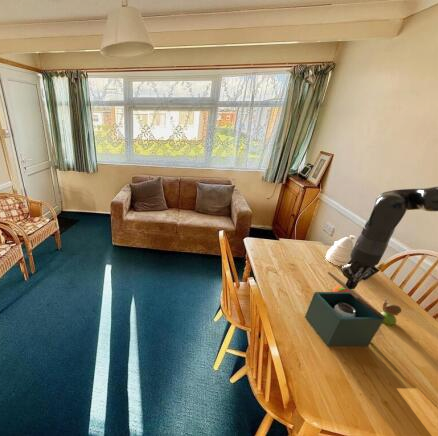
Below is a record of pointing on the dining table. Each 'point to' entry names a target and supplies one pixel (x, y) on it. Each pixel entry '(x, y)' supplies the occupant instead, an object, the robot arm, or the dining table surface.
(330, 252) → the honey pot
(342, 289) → the clementine
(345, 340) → the box
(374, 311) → the lid
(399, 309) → the snail figurine
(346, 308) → the can
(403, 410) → the dining table surface
